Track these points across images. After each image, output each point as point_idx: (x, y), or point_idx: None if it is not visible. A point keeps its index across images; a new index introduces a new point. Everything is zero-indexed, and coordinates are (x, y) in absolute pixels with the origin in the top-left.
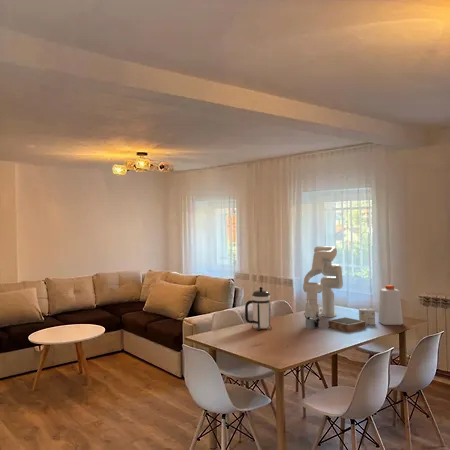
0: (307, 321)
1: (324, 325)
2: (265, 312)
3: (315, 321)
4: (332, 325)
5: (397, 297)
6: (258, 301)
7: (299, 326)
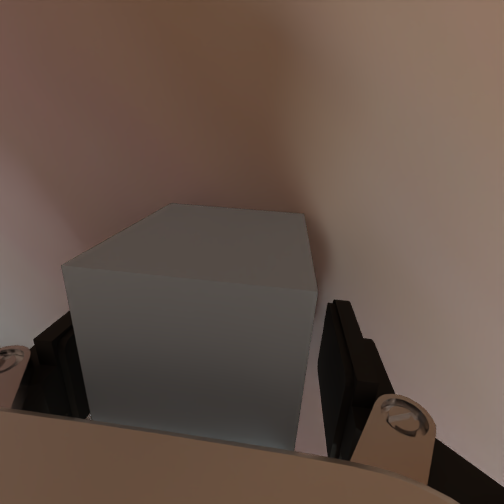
0: (235, 263)
1: None
2: None
3: (27, 352)
4: None
5: None
6: None
7: (488, 215)
